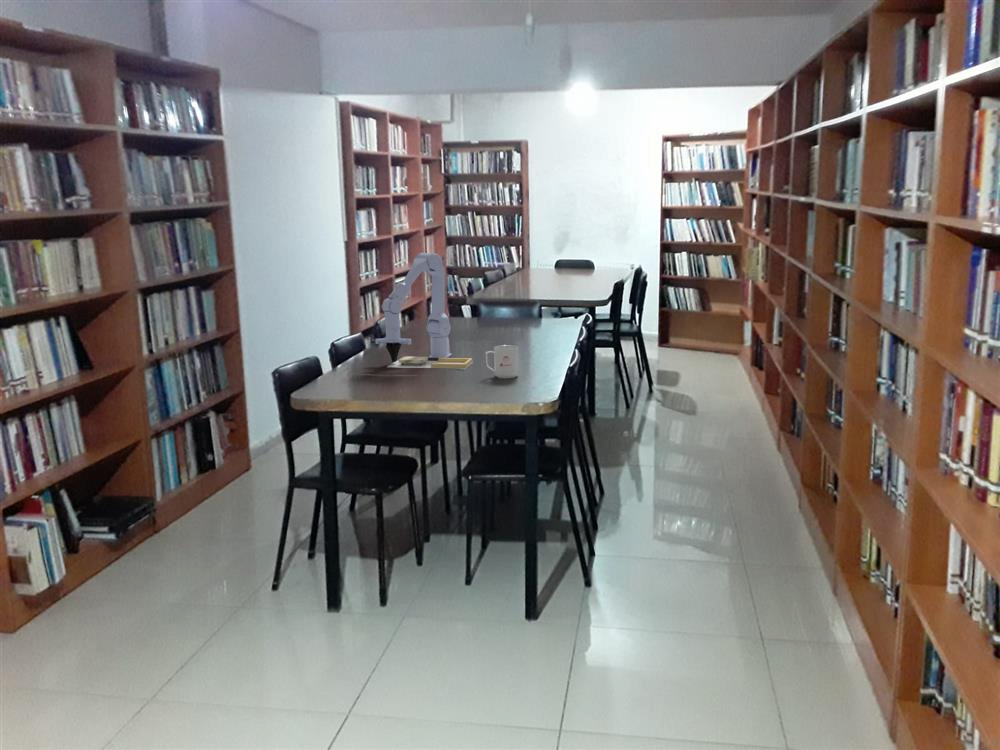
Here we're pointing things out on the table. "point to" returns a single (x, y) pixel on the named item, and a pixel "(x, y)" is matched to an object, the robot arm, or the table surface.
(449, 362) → the board
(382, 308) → the robot arm
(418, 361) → the beige flat block
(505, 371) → the mug
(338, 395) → the table surface
